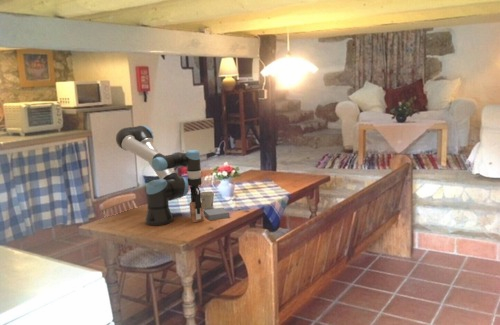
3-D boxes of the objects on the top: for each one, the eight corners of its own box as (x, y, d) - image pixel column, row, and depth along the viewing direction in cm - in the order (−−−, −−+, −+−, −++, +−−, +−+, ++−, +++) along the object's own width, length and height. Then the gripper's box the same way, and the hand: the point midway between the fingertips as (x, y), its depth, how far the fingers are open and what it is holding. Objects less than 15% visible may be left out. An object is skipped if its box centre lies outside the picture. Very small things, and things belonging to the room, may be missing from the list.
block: (193, 222, 265) (192, 205, 263) (190, 219, 271) (189, 202, 269) (203, 220, 267) (202, 203, 265) (200, 217, 273) (199, 201, 271)
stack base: (209, 220, 267) (209, 215, 267) (203, 215, 278) (203, 210, 278) (229, 217, 271) (229, 212, 271) (223, 212, 282) (223, 207, 282)
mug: (212, 210, 286) (211, 194, 284) (192, 210, 289) (191, 194, 287) (216, 207, 294) (215, 191, 293) (196, 206, 297) (195, 191, 295)
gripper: (205, 180, 257) (208, 221, 261) (196, 174, 274) (199, 212, 279) (191, 181, 254) (194, 223, 259) (183, 175, 272) (186, 214, 276)
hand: (197, 217), depth 269 cm, fingers closed on block, 6 cm apart
